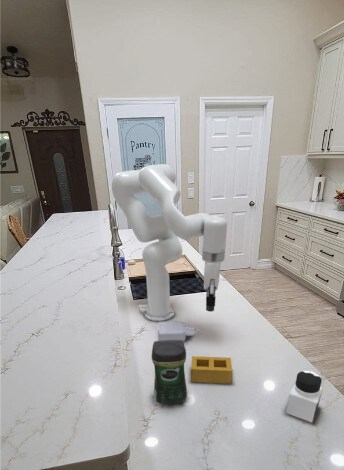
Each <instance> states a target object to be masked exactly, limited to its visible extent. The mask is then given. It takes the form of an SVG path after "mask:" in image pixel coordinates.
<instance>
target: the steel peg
mask: <svg viewBox="0 0 344 470" xmlns="http://www.w3.org/2000/svg"><path fill="white" fill-rule="evenodd" d="M209 291H210V290H209ZM216 291H217V290H215V292H216ZM207 292H208V289H206V293H207ZM205 311H207V312H211V313H212V312H214V311H215V306H214V307H211V306H206V305H205Z"/></svg>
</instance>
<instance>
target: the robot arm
mask: <svg viewBox="0 0 344 470" xmlns="http://www.w3.org/2000/svg"><path fill="white" fill-rule="evenodd" d="M176 180H177V176H176V172H175V170H174V169H173V167H172V166H171V165H169V164H166V163H160V164H149V165H146V166H144V167H142V168H141V169H131V170H123V171H119V172H118V173H116V174H115V175H114V176H113V177H112V181H111V191H112V196H113V198H114V201H115V202H116V204H117V205H118V207H119V208H120V210H121V211H122V212H123V214H124V216H125V217H126V220H127V222H128V224H129V226H130V228H131V230H132V232H133V233H134V236H135V238H136V239H137V240H138V242H140V243H149V242H151V243H149V244H148V245H146V246H145V247H144V248H143V250H142V255H141V256H142V261H143V264H144V269H145V270H144V271H145V278H146V279H145V281H146V293H147V295H146V296H147V303H146V304H138V308H137V309H138V310H139V311H140V312H144V317H145V318H146V319H148V320H149V321H154V322H165V321H168V320H169V319H172V318H173V317H174V315H175V311H174V309H172V308H171V290H170V289H171V286H170V285H171V283H170V273H169V271H168V269H167V268H166V265H168V264H171V263H174V262H176V261H178V260H180V259H181V257H182V255H183V246H182V243H181V240H184V241H188V240H192V239H196V238H199V237H202V254H201V255H202V257H201V259H202V261H203V262H204V267H203V268H204V269H203V290H204V291H206V295H205V296H206V297H205V307H206V306H211V307H214V308H215V306H216V297H217V296H216V291H217V290H219V283H220V275H221V264H222V263H223V262H224V261H225V256H226V245H227V232H228V221H227V219H226V218H224V217H222V216H214V215H211V214H209V213H205V212H198V213H193V214H189V215H184V214H183V213H182V212H181V211H180V210H179V208H177V206H176V205H177V204H178V202H179V200H180V198H181V194H182V193H181V189H180V188H179V187H178V186H177V185H176V184H175V183H176ZM144 193H145V194H146V193H148V194H149V195H150V196H151V198H153V199H154V200H155V202H156V203H158V204H159V205H160V207H161V212H162V213H161V214H155V215H150V213H149V212H148V210H147V209H146V207H145V205H144V203H143V202H142V201H141V200H140V199H138V198H137V197H136V196H135V195H138V194H144ZM179 239H180V240H179ZM157 240H158V241H157ZM153 241H155V242H153ZM207 289H208V292H207ZM209 290H210V291H209ZM215 290H216V291H215Z"/></svg>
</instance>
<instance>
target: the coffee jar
mask: <svg viewBox="0 0 344 470" xmlns="http://www.w3.org/2000/svg"><path fill="white" fill-rule="evenodd" d="M186 360H187V351H186V346H185V343H184V341H182V340H164V341H160V340H154V342H153V343H152V349H151V361H152V364H153V365H154V382H153V396H154V401H155V402H156V403H158V404H161V405H175V404H181V403H184V402H185V401H186V399H187V396H188V389H187V382H186V373H185V362H186Z"/></svg>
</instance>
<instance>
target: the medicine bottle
mask: <svg viewBox="0 0 344 470" xmlns="http://www.w3.org/2000/svg"><path fill="white" fill-rule="evenodd" d="M322 382H323V381H322V377H321V376H320V375H319V374H318V373H316V372H315V371H311V370H302V371H299V372H298V373H297V374H296V378H295V380H294V383H293V385H292V387H291V389H290V392H289V394H288V398H287V404H286V408H285V409H286V410H285V414H287V415H290V416H292V417H295V418H298V419H300V420H303V421H305V422H309V423H314V420H315V418H316V415H317V412H318V408H319V405H320V401H321V397H322V394H323V390H324V388H323V387H322V386H321V385H322Z"/></svg>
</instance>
